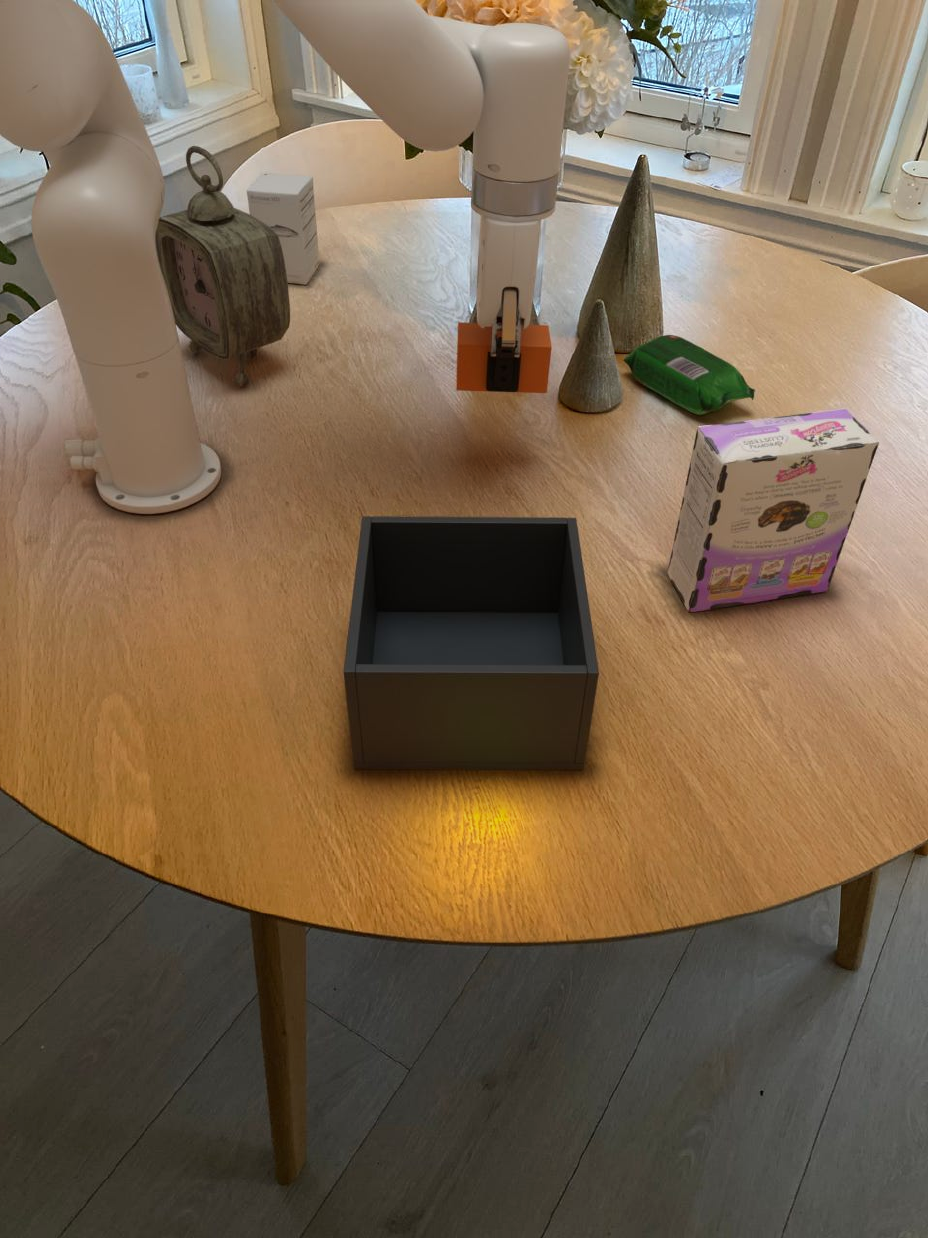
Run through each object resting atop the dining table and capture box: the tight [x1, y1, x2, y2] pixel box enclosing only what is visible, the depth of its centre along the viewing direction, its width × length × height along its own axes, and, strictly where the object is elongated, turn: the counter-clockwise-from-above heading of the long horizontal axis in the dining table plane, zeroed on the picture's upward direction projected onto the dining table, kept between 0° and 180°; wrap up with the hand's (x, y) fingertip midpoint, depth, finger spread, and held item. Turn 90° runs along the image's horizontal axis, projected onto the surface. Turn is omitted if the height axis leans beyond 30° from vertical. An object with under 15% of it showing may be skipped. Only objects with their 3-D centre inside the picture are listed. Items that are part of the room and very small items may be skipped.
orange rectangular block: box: [456, 322, 553, 394], centre depth 95 cm, size 9×5×5 cm, turn 90°
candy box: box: [666, 407, 880, 613], centre depth 84 cm, size 14×6×16 cm, turn 102°
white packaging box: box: [246, 172, 320, 286], centre depth 133 cm, size 7×7×13 cm
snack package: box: [622, 334, 756, 416], centre depth 112 cm, size 7×16×5 cm, turn 35°
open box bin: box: [342, 515, 600, 771], centre depth 76 cm, size 18×18×11 cm
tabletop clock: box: [155, 145, 291, 388], centre depth 110 cm, size 14×9×25 cm, turn 42°
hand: (501, 374), depth 97 cm, fingers closed on orange rectangular block, 4 cm apart
